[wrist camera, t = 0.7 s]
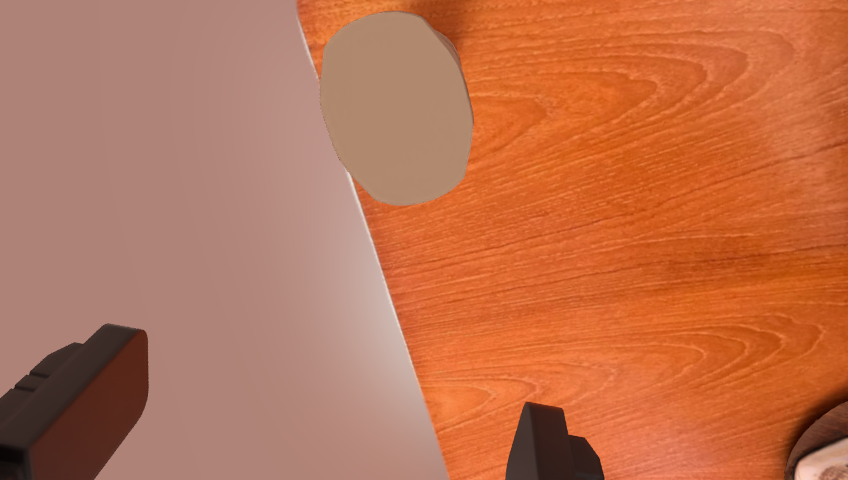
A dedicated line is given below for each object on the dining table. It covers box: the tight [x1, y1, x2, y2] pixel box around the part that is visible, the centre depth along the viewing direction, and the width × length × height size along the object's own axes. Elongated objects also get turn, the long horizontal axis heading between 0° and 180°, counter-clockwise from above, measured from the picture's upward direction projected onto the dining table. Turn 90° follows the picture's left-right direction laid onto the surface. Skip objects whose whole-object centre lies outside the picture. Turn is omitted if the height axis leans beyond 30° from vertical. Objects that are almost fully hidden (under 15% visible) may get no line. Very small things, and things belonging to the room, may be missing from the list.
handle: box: [320, 11, 474, 205], centre depth 28 cm, size 5×6×15 cm
